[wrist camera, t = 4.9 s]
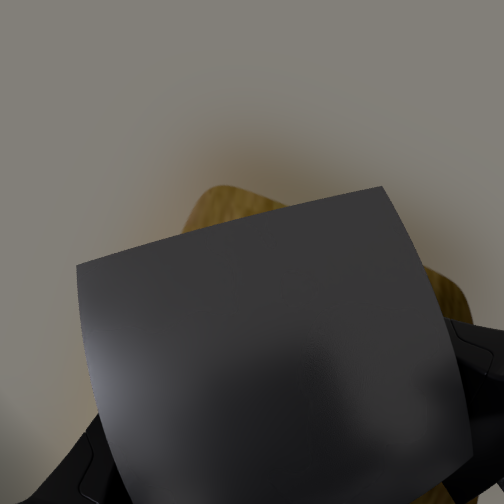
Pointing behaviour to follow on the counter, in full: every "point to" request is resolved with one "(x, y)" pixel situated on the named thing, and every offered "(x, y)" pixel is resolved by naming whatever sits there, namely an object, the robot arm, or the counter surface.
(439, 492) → the counter surface
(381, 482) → the dark grey square block
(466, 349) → the robot arm
